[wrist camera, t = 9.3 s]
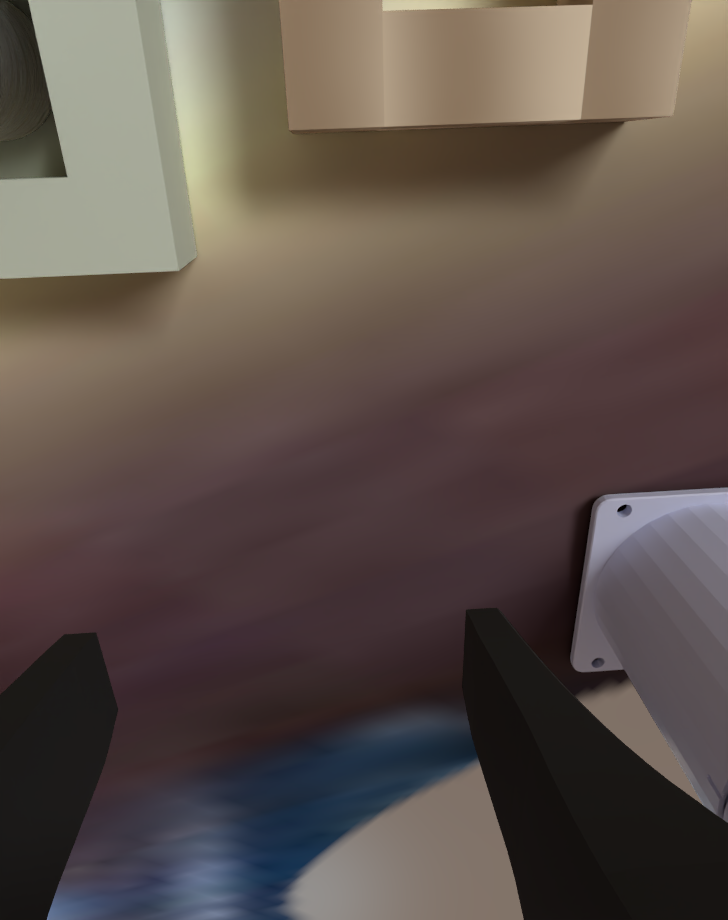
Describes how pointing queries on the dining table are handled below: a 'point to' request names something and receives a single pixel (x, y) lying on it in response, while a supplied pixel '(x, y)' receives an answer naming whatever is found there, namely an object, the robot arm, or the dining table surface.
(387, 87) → the socket block
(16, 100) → the rod
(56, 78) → the block
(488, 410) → the dining table surface
